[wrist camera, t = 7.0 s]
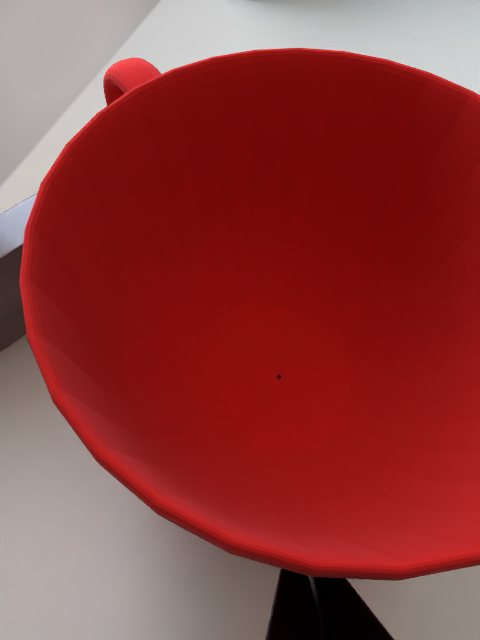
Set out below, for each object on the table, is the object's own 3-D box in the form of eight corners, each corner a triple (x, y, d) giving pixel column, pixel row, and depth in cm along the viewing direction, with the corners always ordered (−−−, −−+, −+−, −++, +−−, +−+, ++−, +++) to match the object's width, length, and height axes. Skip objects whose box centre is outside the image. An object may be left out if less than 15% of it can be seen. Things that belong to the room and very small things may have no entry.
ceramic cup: (249, 171, 23) (268, -53, 15) (494, 414, 18) (777, 288, 9) (27, 284, 19) (-135, 71, 11) (248, 649, 14) (303, 860, 5)
